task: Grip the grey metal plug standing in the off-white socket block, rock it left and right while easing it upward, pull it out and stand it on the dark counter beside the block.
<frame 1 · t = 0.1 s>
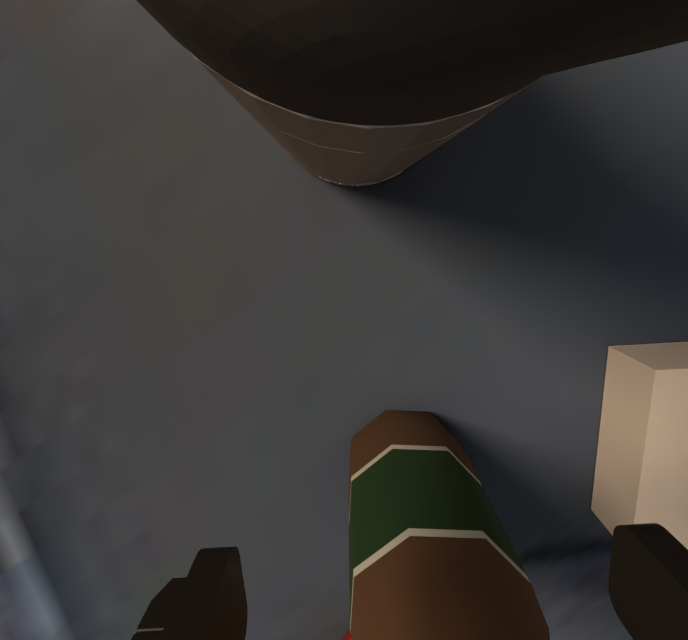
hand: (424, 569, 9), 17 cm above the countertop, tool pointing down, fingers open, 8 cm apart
beer bottle: (402, 454, 28), on the countertop
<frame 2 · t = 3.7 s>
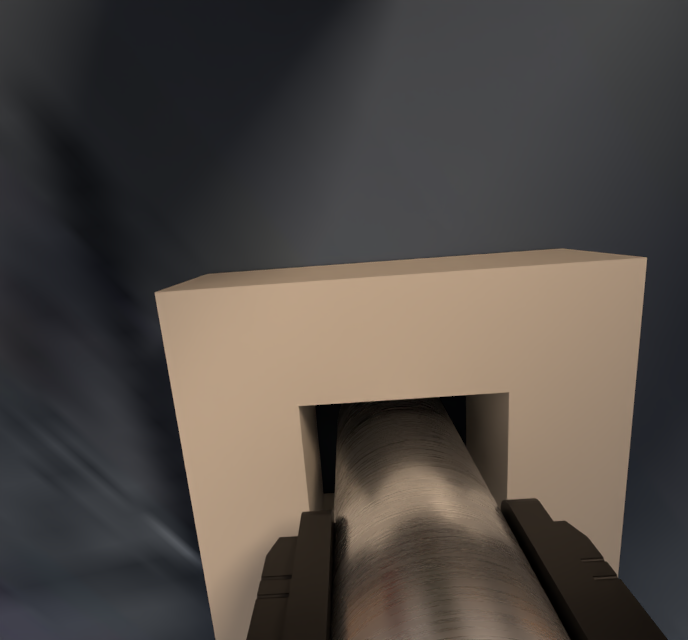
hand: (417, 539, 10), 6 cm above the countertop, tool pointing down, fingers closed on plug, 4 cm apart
socket block: (391, 423, 15), on the countertop
plug: (433, 605, 8), in the socket block, touching gripper
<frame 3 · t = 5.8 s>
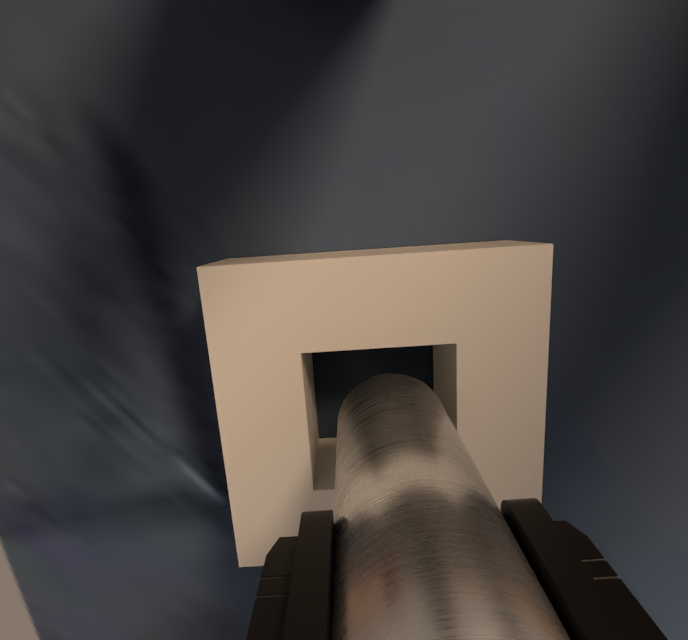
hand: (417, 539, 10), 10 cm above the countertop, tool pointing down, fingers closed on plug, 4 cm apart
socket block: (373, 380, 19), on the countertop
plug: (433, 605, 8), point 11 cm above the countertop, touching gripper
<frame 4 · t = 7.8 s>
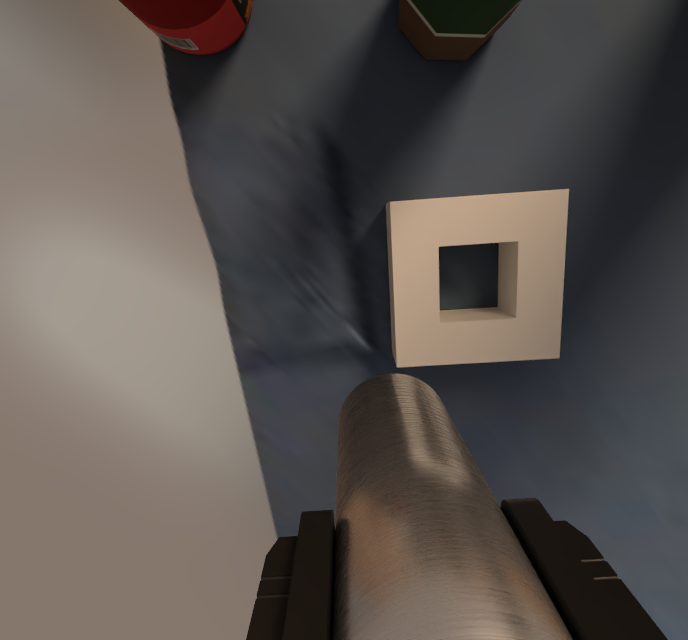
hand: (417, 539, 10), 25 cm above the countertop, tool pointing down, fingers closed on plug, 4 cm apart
socket block: (463, 275, 33), on the countertop
canned food: (201, 0, 29), on the countertop
plug: (435, 605, 8), point 27 cm above the countertop, touching gripper
beer bottle: (448, 7, 29), on the countertop
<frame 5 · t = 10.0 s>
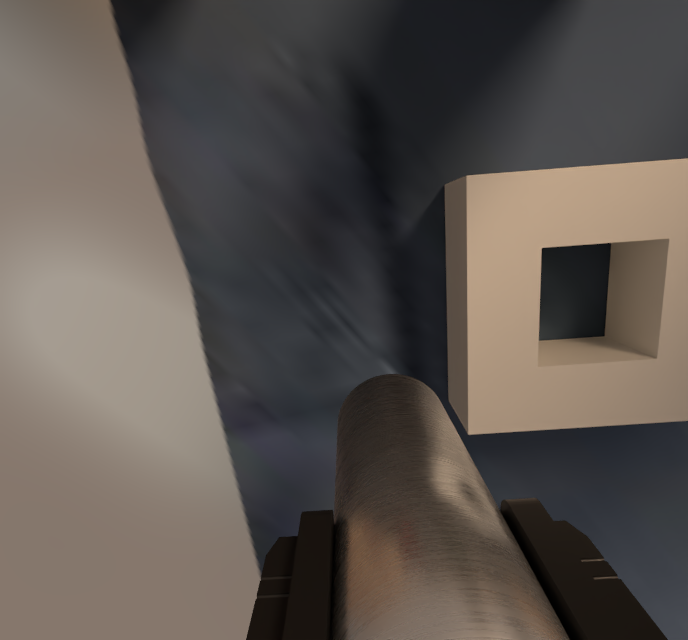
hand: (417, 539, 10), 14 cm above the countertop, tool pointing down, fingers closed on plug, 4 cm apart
socket block: (557, 291, 22), on the countertop
plug: (434, 607, 8), point 16 cm above the countertop, touching gripper
when the fingers open (7 cm above the countertop, at t = 11.8 s): plug stays where it is, on the countertop.
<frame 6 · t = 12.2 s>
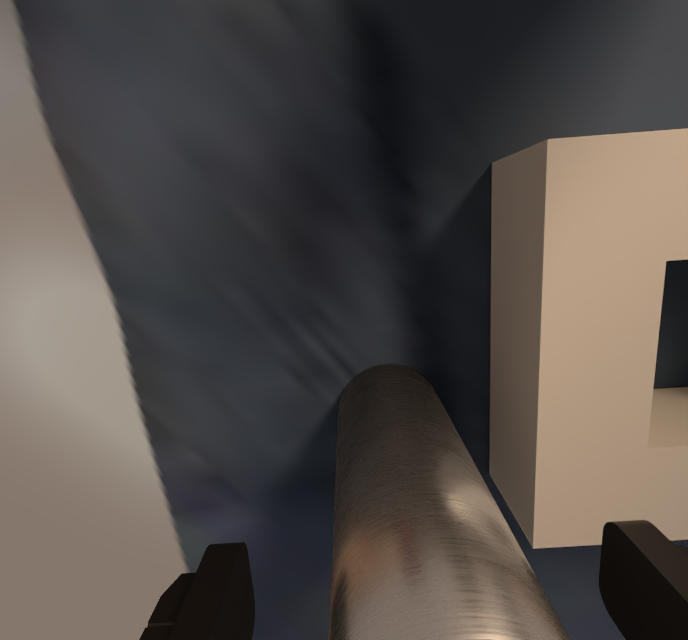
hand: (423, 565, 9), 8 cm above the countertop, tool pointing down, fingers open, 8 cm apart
socket block: (651, 320, 15), on the countertop
plug: (424, 565, 9), on the countertop
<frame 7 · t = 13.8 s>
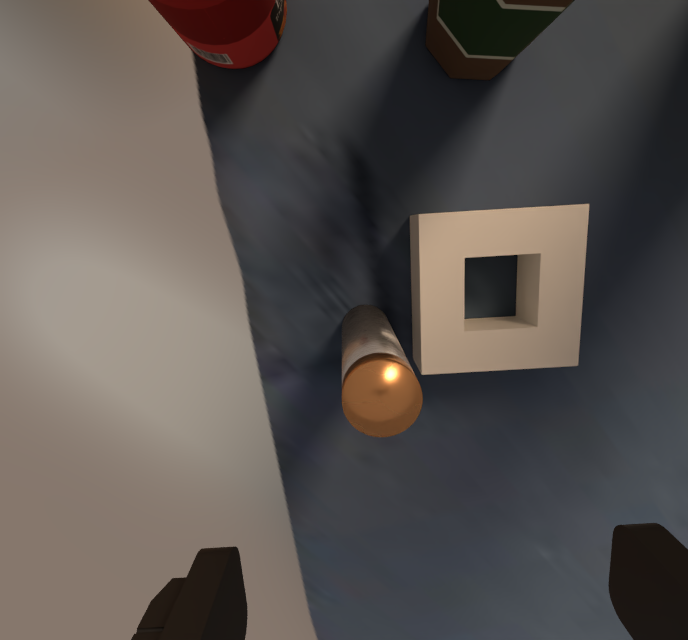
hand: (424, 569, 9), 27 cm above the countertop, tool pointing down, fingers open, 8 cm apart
socket block: (483, 285, 34), on the countertop
canned food: (234, 16, 30), on the countertop
plug: (371, 354, 28), on the countertop
beer bottle: (472, 29, 30), on the countertop
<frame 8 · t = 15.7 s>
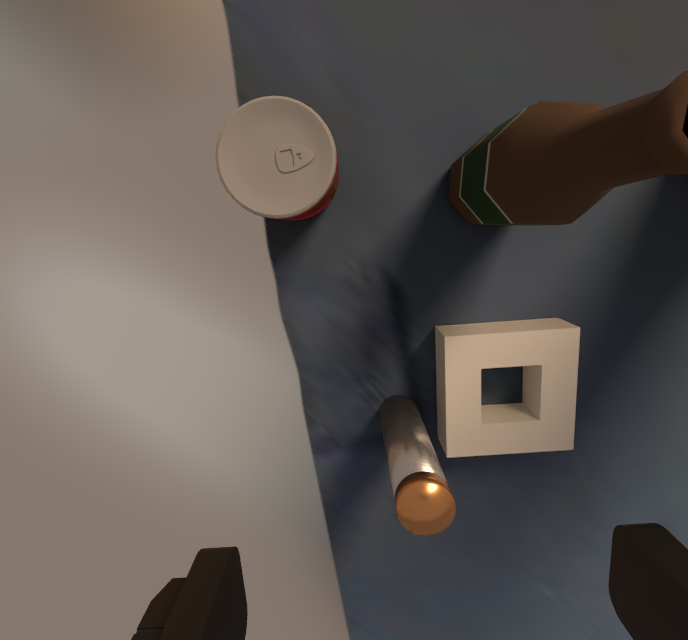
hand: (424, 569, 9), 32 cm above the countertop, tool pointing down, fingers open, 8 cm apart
socket block: (495, 379, 42), on the countertop
canned food: (295, 177, 38), on the countertop
plug: (409, 451, 35), on the countertop
beer bottle: (485, 184, 38), on the countertop
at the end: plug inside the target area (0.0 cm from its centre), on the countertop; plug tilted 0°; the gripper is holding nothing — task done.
